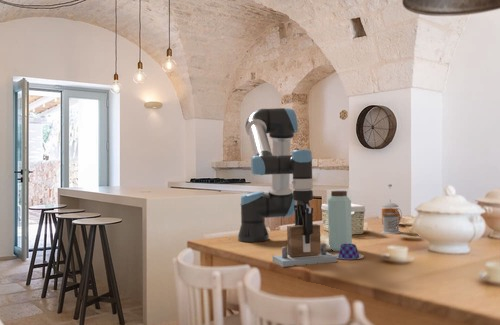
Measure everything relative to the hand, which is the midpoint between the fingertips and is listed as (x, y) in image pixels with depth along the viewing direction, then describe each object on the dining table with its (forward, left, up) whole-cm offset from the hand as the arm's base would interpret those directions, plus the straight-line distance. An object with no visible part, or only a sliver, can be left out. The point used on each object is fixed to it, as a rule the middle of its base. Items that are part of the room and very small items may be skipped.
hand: (304, 250), depth 182 cm
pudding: (0, +19, -5) cm, 20 cm away
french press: (-47, +69, -4) cm, 84 cm away
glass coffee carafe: (-71, +84, -4) cm, 110 cm away
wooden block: (0, 0, -1) cm, 1 cm away
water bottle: (-15, +23, -4) cm, 28 cm away
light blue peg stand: (0, 0, -4) cm, 4 cm away
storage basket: (-59, +46, -4) cm, 75 cm away
